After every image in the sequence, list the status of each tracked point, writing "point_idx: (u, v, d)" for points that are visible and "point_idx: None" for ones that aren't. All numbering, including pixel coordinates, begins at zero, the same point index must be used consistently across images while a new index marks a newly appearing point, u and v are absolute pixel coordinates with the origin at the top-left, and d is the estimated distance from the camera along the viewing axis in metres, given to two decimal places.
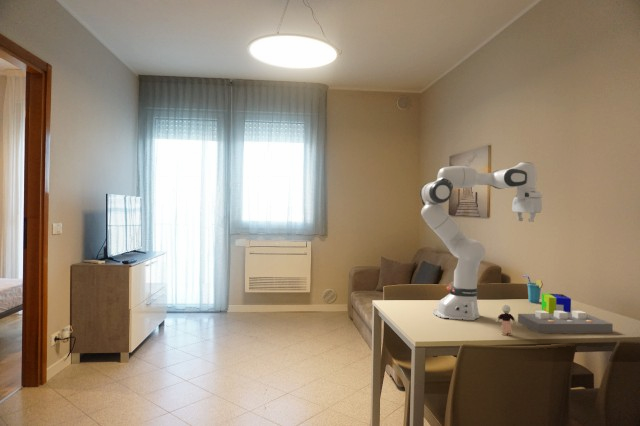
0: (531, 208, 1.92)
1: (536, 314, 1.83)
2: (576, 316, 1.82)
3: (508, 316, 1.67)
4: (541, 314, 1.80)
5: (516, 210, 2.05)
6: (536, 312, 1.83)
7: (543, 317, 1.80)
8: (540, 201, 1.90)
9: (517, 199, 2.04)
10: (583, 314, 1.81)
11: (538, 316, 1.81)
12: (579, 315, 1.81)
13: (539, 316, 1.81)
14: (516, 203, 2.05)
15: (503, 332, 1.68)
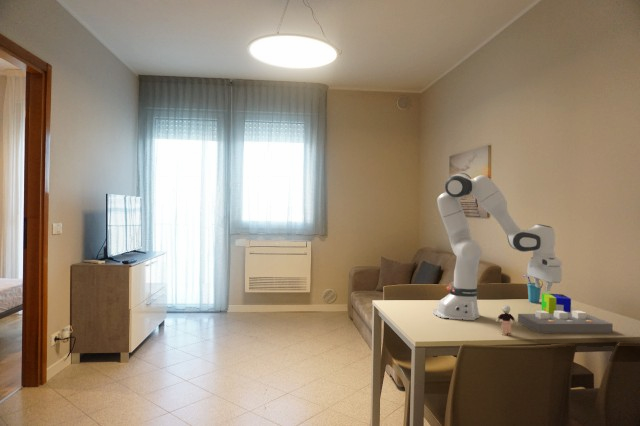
0: (549, 277, 1.74)
1: (536, 314, 1.83)
2: (576, 316, 1.82)
3: (508, 316, 1.67)
4: (541, 314, 1.80)
5: (531, 275, 1.87)
6: (536, 312, 1.83)
7: (543, 317, 1.80)
8: (560, 270, 1.72)
9: (533, 263, 1.86)
10: (583, 314, 1.81)
11: (538, 316, 1.81)
12: (579, 315, 1.81)
13: (539, 316, 1.81)
14: (532, 267, 1.88)
15: (503, 332, 1.68)
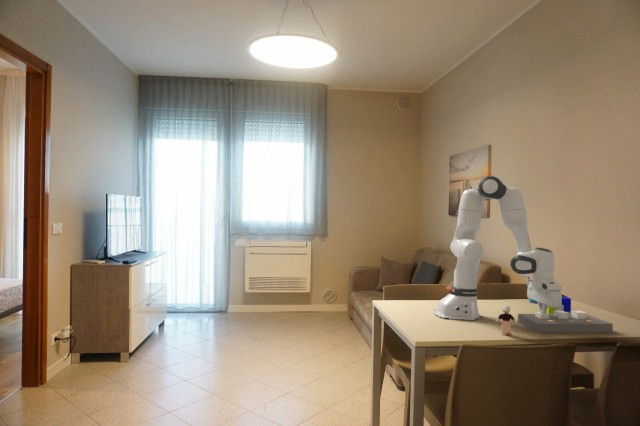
0: (549, 302, 1.74)
1: (536, 315, 1.83)
2: (576, 316, 1.82)
3: (508, 316, 1.67)
4: (541, 315, 1.80)
5: (531, 297, 1.88)
6: (536, 313, 1.83)
7: (543, 318, 1.80)
8: (560, 295, 1.72)
9: (533, 286, 1.87)
10: (583, 314, 1.81)
11: (538, 317, 1.81)
12: (579, 315, 1.81)
13: (539, 317, 1.81)
14: (532, 290, 1.88)
15: (503, 332, 1.68)
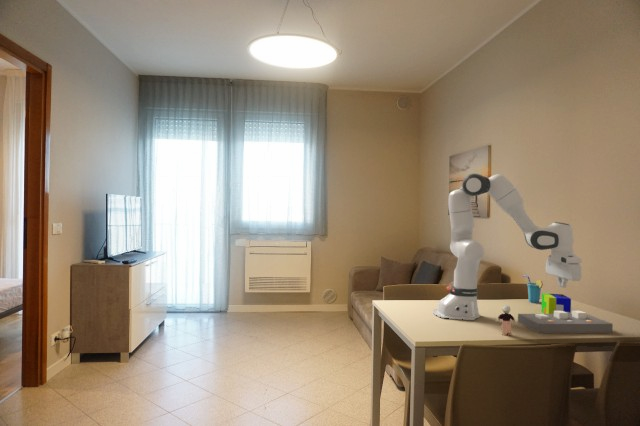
0: (569, 275, 1.74)
1: None
2: (576, 316, 1.82)
3: (508, 316, 1.67)
4: (541, 317, 1.80)
5: (550, 272, 1.87)
6: (536, 315, 1.83)
7: None
8: (579, 268, 1.72)
9: (551, 261, 1.86)
10: (583, 314, 1.81)
11: None
12: (579, 315, 1.81)
13: None
14: (550, 265, 1.87)
15: (503, 332, 1.68)
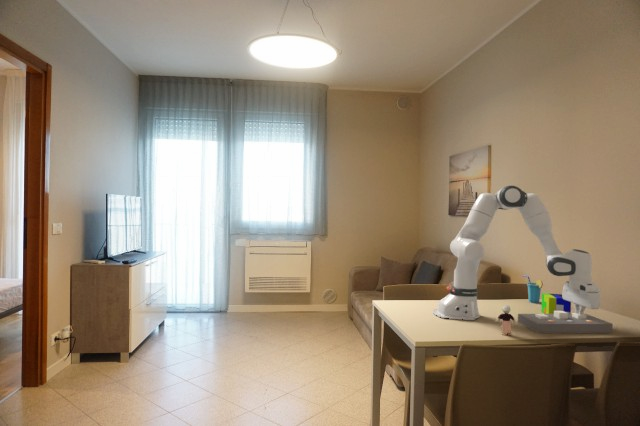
0: (588, 303, 1.75)
1: None
2: None
3: (508, 316, 1.67)
4: (541, 317, 1.80)
5: (567, 299, 1.89)
6: (536, 315, 1.83)
7: None
8: (598, 296, 1.74)
9: (569, 287, 1.88)
10: (583, 316, 1.81)
11: None
12: (579, 317, 1.81)
13: None
14: (567, 291, 1.89)
15: (503, 332, 1.68)
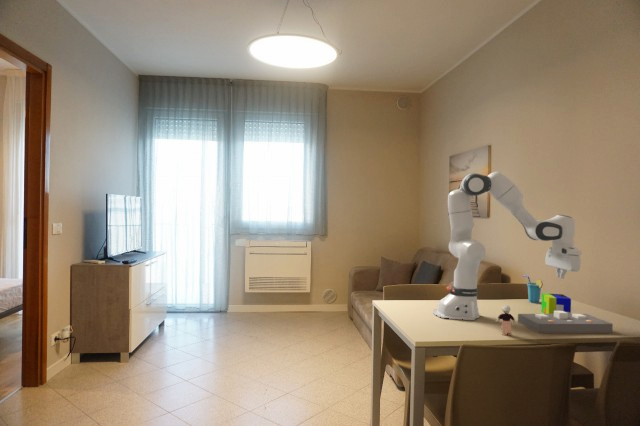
0: (568, 266, 1.79)
1: None
2: None
3: (508, 316, 1.67)
4: (541, 317, 1.80)
5: (549, 264, 1.92)
6: (536, 315, 1.83)
7: None
8: (579, 259, 1.77)
9: (552, 252, 1.91)
10: (583, 317, 1.81)
11: None
12: (579, 318, 1.81)
13: None
14: (550, 256, 1.93)
15: (503, 332, 1.68)
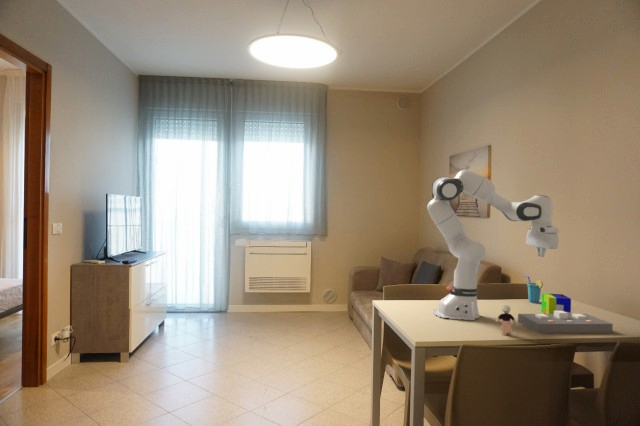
0: (547, 244, 1.84)
1: None
2: None
3: (508, 316, 1.67)
4: (541, 317, 1.80)
5: (530, 244, 1.97)
6: (536, 315, 1.83)
7: None
8: (557, 237, 1.82)
9: (531, 232, 1.96)
10: (583, 317, 1.81)
11: None
12: (579, 318, 1.81)
13: None
14: (530, 236, 1.98)
15: (503, 332, 1.68)
